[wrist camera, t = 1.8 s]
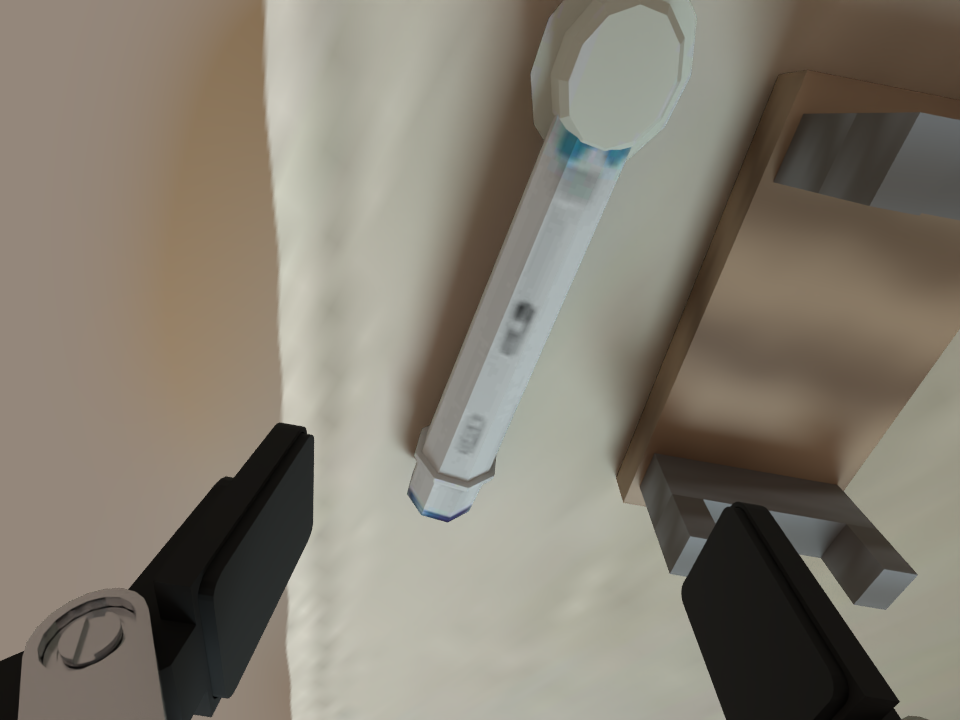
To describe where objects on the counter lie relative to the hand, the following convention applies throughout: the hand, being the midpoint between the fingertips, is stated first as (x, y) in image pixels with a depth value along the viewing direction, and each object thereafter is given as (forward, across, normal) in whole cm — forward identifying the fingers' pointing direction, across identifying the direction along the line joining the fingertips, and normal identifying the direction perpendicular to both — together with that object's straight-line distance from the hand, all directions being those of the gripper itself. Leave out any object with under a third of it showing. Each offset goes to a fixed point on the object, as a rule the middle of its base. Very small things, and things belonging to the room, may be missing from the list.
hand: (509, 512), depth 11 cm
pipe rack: (+14, -14, -1) cm, 20 cm away
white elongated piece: (+15, 0, -1) cm, 15 cm away
